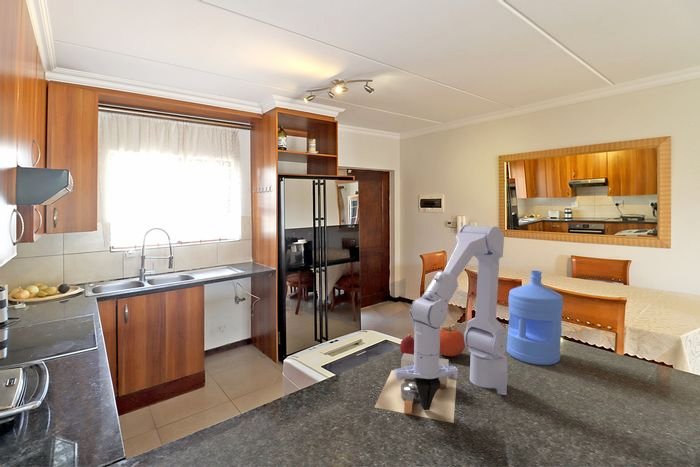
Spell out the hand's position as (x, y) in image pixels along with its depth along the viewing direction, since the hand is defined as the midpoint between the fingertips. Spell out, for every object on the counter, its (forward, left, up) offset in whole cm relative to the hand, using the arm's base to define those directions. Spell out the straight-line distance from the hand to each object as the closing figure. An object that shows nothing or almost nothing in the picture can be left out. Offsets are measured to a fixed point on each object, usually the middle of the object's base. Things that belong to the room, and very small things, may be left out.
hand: (425, 407), depth 81 cm
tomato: (-3, -37, -2) cm, 37 cm away
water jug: (-29, -46, -2) cm, 54 cm away
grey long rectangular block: (+2, -13, +1) cm, 13 cm away
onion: (+9, -30, -2) cm, 31 cm away
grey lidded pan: (+4, -3, -1) cm, 5 cm away
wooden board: (+3, -8, -2) cm, 8 cm away
